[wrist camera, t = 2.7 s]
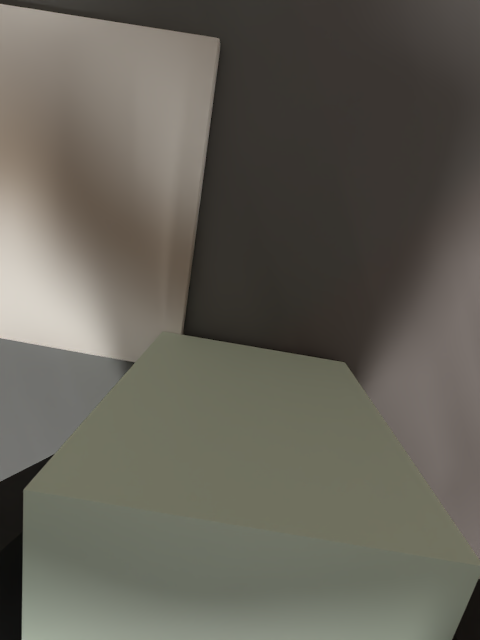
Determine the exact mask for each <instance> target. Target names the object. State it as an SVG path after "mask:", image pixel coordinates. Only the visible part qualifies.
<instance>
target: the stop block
mask: <svg viewBox="0 0 480 640" xmlns="http://www.w3.org/2000/svg"><path fill="white" fill-rule="evenodd" d="M479 576H480V560H479V559H478V557H477V556H476V554H475V553H474V551H473V550H472V548H471V547H470V545H469V544H468V543H467V541H466V540H465V538H464V537H463V535H462V534H461V532H460V531H459V529H458V528H457V526H456V525H455V523H454V522H453V520H452V519H451V518H450V516H449V515H448V513H447V512H446V510H445V509H444V507H443V506H442V504H441V503H440V501H439V500H438V498H437V497H436V495H435V494H434V493H433V491H432V490H431V488H430V487H429V485H428V484H427V482H426V481H425V479H424V478H423V476H422V475H421V473H420V472H419V470H418V469H417V468H416V466H415V465H414V463H413V462H412V460H411V459H410V457H409V456H408V454H407V453H406V451H405V450H404V448H403V447H402V446H401V444H400V443H399V441H398V440H397V438H396V437H395V435H394V434H393V432H392V431H391V429H390V428H389V426H388V425H387V423H386V422H385V421H384V419H383V418H382V416H381V415H380V413H379V412H378V410H377V409H376V407H375V406H374V404H373V403H372V401H371V400H370V398H369V397H368V396H367V394H366V393H365V391H364V390H363V388H362V387H361V385H360V384H359V382H358V381H357V379H356V378H355V376H354V375H353V373H352V372H351V371H350V369H349V368H348V366H347V365H346V363H345V362H340V361H334V360H328V359H322V358H316V357H311V356H305V355H299V354H293V353H287V352H281V351H275V350H269V349H263V348H258V347H252V346H246V345H240V344H234V343H228V342H222V341H216V340H211V339H205V338H199V337H193V336H187V335H181V334H175V333H169V332H164V331H162V333H161V334H160V335H159V336H158V337H157V338H156V339H155V341H154V342H153V343H152V344H151V345H150V346H149V347H148V349H147V350H146V351H145V352H144V353H143V354H142V355H141V356H140V358H139V359H138V360H137V361H136V362H135V363H134V364H133V366H132V367H131V368H130V369H129V370H128V371H127V372H126V374H125V375H124V376H123V377H122V378H121V379H120V380H119V382H118V383H117V384H116V385H115V386H114V387H113V388H112V389H111V391H110V392H109V393H108V394H107V395H106V396H105V397H104V399H103V400H102V401H101V402H100V403H99V404H98V405H97V407H96V408H95V409H94V410H93V411H92V412H91V413H90V415H89V416H88V417H87V418H86V419H85V420H84V421H83V422H82V424H81V425H80V426H79V427H78V428H77V429H76V430H75V432H74V433H73V434H72V435H71V436H70V437H69V438H68V440H67V441H66V442H65V443H64V444H63V445H62V446H61V448H60V449H59V450H58V451H57V452H56V453H55V454H54V455H53V457H52V458H51V459H50V460H49V461H48V462H47V463H46V465H45V466H44V467H43V468H42V469H41V470H40V471H39V473H38V474H37V475H36V476H35V477H34V478H33V479H32V481H31V482H30V483H29V484H28V485H27V486H26V487H25V488H24V490H23V569H22V640H452V639H453V636H454V634H455V632H456V629H457V627H458V625H459V623H460V620H461V618H462V616H463V613H464V611H465V609H466V606H467V604H468V602H469V599H470V597H471V595H472V593H473V590H474V588H475V586H476V583H477V581H478V579H479Z"/></svg>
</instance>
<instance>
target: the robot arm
mask: <svg viewBox="0 0 480 640" xmlns="http://www.w3.org/2000/svg"><path fill="white" fill-rule="evenodd" d="M52 457H53V455H52V456H50V457H48V458H46V459H44V460H42V461H40V462H38V463H36V464H34V465H32V466H30V467H28V468H26V469H25V470H23V471H21V472H19V473H17V474H15V475H13V476H11V477H9V478H7V479H5V480H3V481H1V482H0V640H22V569H23V490H24V488H25V487H26V486H27V485H28V484H29V483H30V482H31V481H32V479H33V478H34V477H35V476H36V475H37V474H38V473H39V471H40V470H41V469H42V468H43V467H44V466H45V465H46V463H47V462H48V461H49V460H50V459H51V458H52ZM452 640H480V579H478V581H477V583H476V586H475V588H474V590H473V593H472V595H471V597H470V599H469V602H468V604H467V606H466V609H465V611H464V613H463V616H462V618H461V620H460V623H459V625H458V627H457V629H456V632H455V634H454V636H453V639H452Z"/></svg>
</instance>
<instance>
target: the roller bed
mask: <svg viewBox="0 0 480 640" xmlns="http://www.w3.org/2000/svg"><path fill="white" fill-rule="evenodd" d="M220 46H221V45H220V40H219V38H215V37H208V36H202V35H196V34H189V33H183V32H176V31H170V30H164V29H157V28H151V27H144V26H138V25H132V24H125V23H119V22H113V21H106V20H100V19H93V18H87V17H81V16H74V15H68V14H61V13H55V12H49V11H42V10H36V9H30V8H23V7H17V6H10V5H4V4H0V338H3V339H9V340H14V341H20V342H25V343H31V344H36V345H42V346H48V347H53V348H59V349H64V350H70V351H75V352H81V353H86V354H92V355H98V356H103V357H109V358H114V359H120V360H125V361H131V362H136V361H137V360H138V359H139V358H140V356H141V355H142V354H143V353H144V352H145V351H146V350H147V349H148V347H149V346H150V345H151V344H152V343H153V342H154V341H155V339H156V338H157V337H158V336H159V335H160V334H161V333H162V331H164V332H169V333H175V334H181V335H183V330H184V322H185V314H186V307H187V299H188V291H189V284H190V276H191V268H192V261H193V253H194V245H195V238H196V230H197V222H198V215H199V207H200V199H201V192H202V184H203V176H204V168H205V161H206V153H207V145H208V138H209V130H210V122H211V115H212V107H213V99H214V92H215V84H216V76H217V69H218V61H219V53H220Z"/></svg>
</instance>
